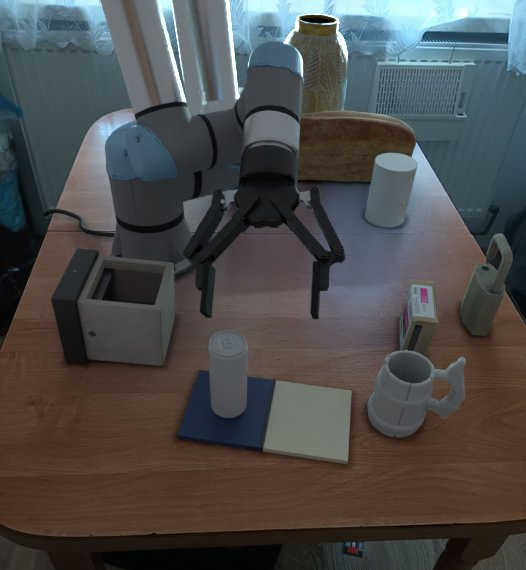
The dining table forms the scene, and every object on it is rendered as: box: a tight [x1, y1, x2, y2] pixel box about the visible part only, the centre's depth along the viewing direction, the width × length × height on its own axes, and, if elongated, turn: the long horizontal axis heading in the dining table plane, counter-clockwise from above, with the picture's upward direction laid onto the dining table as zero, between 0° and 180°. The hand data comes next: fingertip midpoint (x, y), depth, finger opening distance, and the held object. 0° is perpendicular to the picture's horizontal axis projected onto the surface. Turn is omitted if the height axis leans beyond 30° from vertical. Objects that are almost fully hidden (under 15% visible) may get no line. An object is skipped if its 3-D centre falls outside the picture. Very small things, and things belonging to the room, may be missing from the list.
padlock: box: [459, 233, 514, 337], centre depth 84 cm, size 4×8×15 cm, turn 176°
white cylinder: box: [364, 153, 419, 228], centre depth 109 cm, size 8×8×12 cm
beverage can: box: [207, 329, 249, 418], centre depth 69 cm, size 5×5×12 cm
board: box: [177, 369, 353, 465], centre depth 73 cm, size 22×12×1 cm, turn 81°
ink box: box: [399, 279, 440, 358], centre depth 82 cm, size 10×4×8 cm, turn 170°
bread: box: [297, 109, 417, 183], centre depth 122 cm, size 12×31×14 cm, turn 91°
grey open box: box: [50, 247, 176, 367], centre depth 79 cm, size 12×14×12 cm
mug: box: [366, 350, 467, 439], centre depth 70 cm, size 8×12×12 cm, turn 85°
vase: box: [284, 13, 349, 114], centre depth 132 cm, size 17×17×27 cm
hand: (259, 316), depth 66 cm, fingers open, 13 cm apart
